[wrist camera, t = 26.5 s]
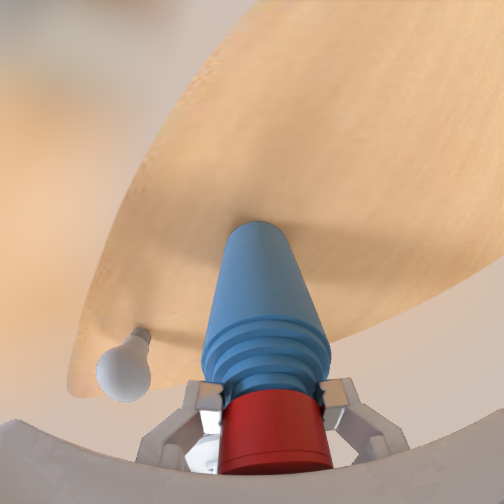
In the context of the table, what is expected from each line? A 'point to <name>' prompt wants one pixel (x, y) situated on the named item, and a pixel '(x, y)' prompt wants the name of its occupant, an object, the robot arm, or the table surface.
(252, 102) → the table surface
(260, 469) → the cap
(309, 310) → the bottle
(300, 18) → the table surface
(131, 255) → the table surface
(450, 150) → the table surface
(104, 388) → the lightbulb
